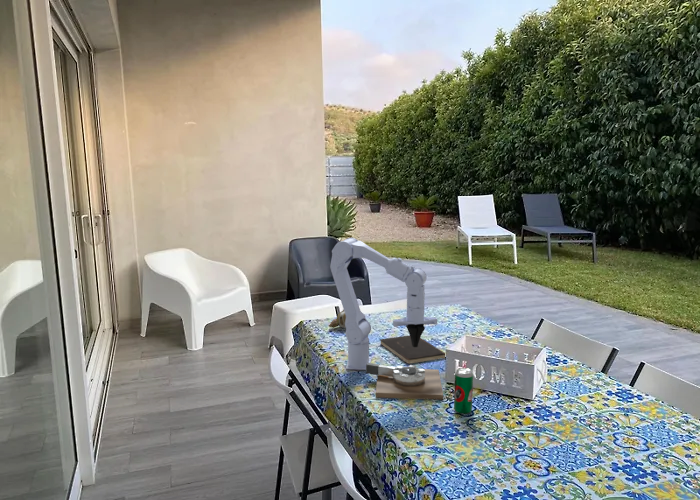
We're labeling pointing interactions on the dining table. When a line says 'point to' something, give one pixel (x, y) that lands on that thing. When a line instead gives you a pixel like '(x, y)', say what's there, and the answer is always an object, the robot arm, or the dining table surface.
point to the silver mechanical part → (399, 373)
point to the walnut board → (411, 387)
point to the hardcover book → (412, 349)
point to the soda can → (463, 391)
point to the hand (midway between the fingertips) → (414, 346)
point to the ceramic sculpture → (339, 320)
